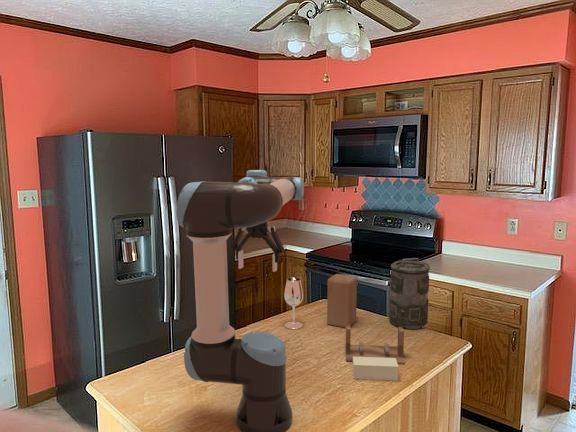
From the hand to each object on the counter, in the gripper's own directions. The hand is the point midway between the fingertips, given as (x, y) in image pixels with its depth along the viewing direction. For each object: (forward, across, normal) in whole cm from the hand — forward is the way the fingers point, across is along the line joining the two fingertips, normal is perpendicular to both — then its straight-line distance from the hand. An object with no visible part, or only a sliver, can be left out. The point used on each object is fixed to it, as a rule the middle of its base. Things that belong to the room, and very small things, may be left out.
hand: (257, 269), depth 167 cm
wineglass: (+29, -7, -21) cm, 37 cm away
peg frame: (+29, -43, -5) cm, 52 cm away
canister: (+29, -52, -40) cm, 72 cm away
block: (+29, -25, -31) cm, 49 cm away
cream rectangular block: (+29, -45, +10) cm, 55 cm away
